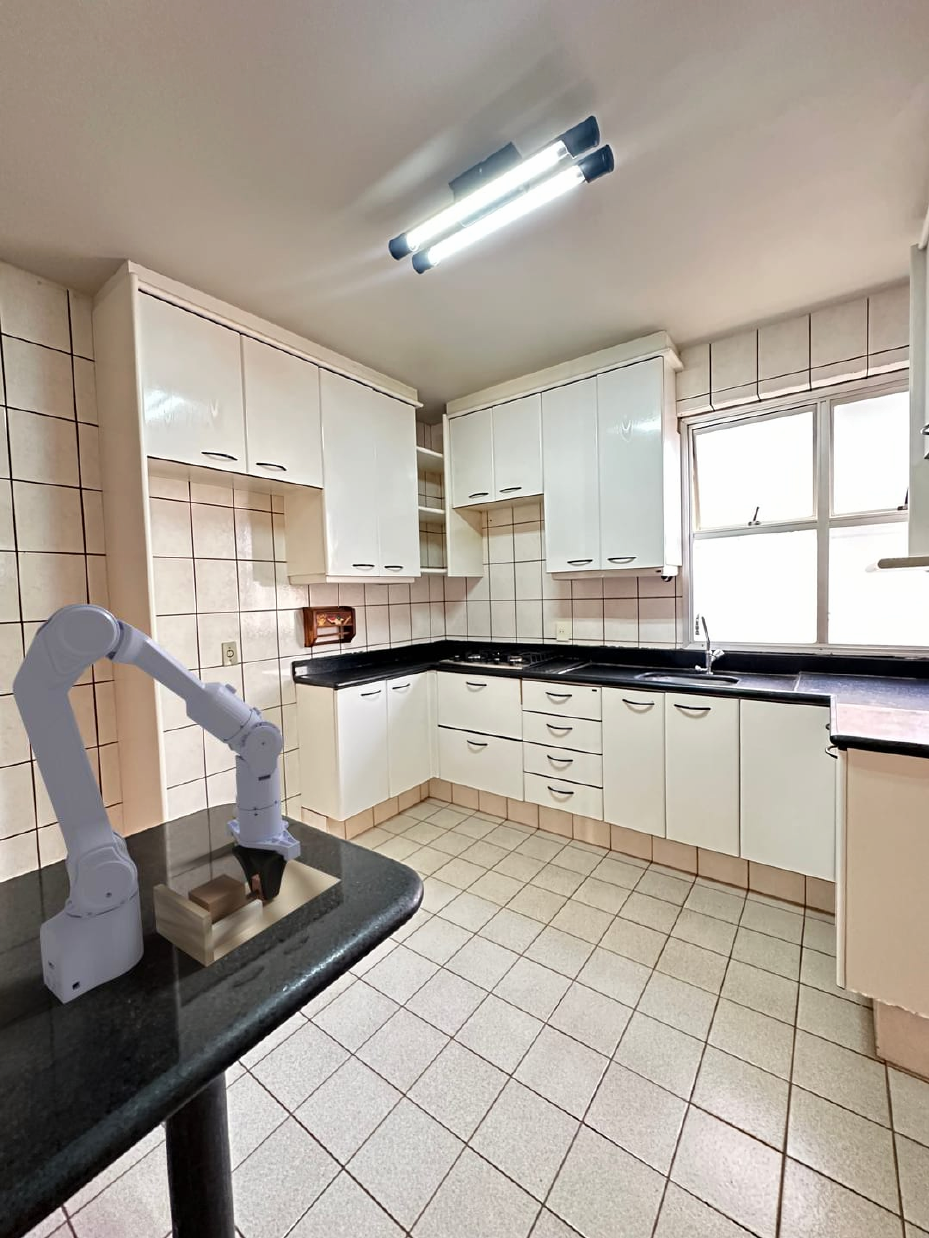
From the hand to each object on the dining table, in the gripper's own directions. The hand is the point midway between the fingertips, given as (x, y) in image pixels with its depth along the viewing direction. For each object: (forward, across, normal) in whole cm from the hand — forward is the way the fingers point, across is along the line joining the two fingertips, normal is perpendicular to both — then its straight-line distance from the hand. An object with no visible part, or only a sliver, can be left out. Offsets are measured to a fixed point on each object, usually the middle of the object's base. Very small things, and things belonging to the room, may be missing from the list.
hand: (265, 893), depth 75 cm
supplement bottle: (+2, +17, -9) cm, 19 cm away
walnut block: (0, 0, +4) cm, 4 cm away
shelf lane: (+1, 0, +2) cm, 2 cm away
